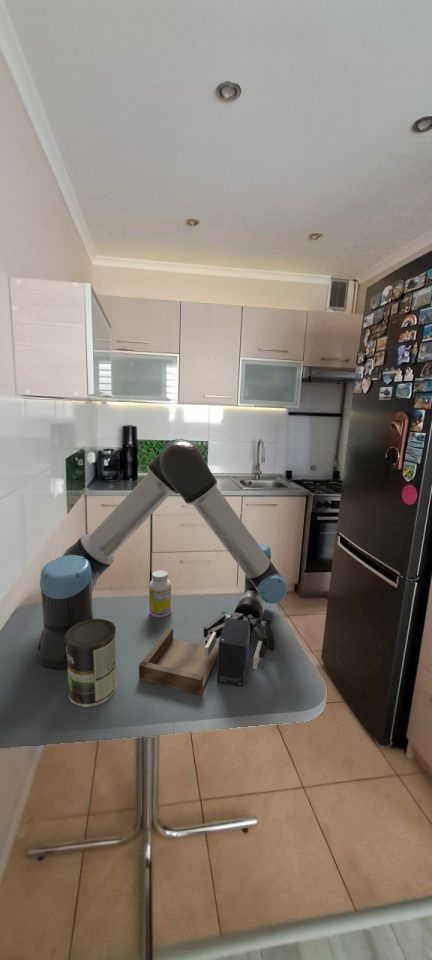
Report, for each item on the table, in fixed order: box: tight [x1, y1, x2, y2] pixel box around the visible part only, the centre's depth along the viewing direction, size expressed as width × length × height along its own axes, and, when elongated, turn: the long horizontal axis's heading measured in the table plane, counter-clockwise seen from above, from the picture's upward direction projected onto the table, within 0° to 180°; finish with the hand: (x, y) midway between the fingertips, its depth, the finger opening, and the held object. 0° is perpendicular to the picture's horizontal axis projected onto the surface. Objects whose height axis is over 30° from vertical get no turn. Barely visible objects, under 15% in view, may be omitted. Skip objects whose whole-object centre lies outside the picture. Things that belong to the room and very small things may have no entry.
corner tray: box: [138, 627, 218, 696], centre depth 89 cm, size 15×16×4 cm
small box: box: [216, 618, 251, 687], centre depth 87 cm, size 11×6×10 cm, turn 168°
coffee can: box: [65, 618, 118, 708], centre depth 80 cm, size 10×10×14 cm
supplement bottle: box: [148, 569, 172, 618], centre depth 112 cm, size 7×7×13 cm
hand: (230, 657), depth 83 cm, fingers open, 11 cm apart
